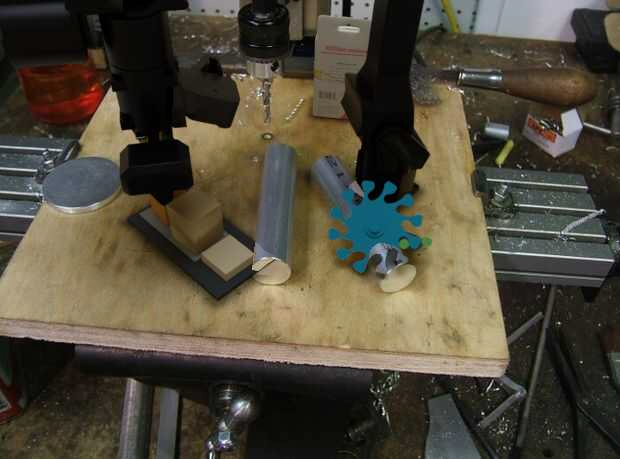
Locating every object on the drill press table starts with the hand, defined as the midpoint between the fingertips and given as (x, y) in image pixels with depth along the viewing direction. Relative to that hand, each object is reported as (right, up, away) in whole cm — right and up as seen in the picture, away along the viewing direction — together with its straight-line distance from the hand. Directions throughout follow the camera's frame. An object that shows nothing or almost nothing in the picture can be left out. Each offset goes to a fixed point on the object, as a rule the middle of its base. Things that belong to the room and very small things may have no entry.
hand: (165, 187), depth 61 cm
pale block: (+3, -5, 0) cm, 7 cm away
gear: (+23, -7, 0) cm, 24 cm away
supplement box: (0, -3, +3) cm, 4 cm away
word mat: (+4, -6, +1) cm, 7 cm away
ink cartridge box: (+20, +13, +20) cm, 31 cm away
